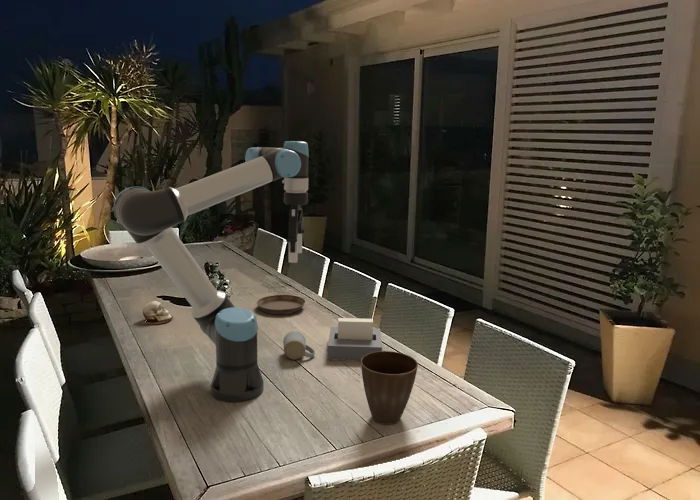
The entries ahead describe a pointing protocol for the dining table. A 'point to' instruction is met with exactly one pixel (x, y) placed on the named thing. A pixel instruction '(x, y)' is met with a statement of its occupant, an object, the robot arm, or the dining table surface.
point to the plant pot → (388, 383)
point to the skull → (156, 313)
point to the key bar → (355, 329)
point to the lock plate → (352, 346)
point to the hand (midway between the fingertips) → (295, 257)
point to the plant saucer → (281, 304)
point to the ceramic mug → (296, 346)
